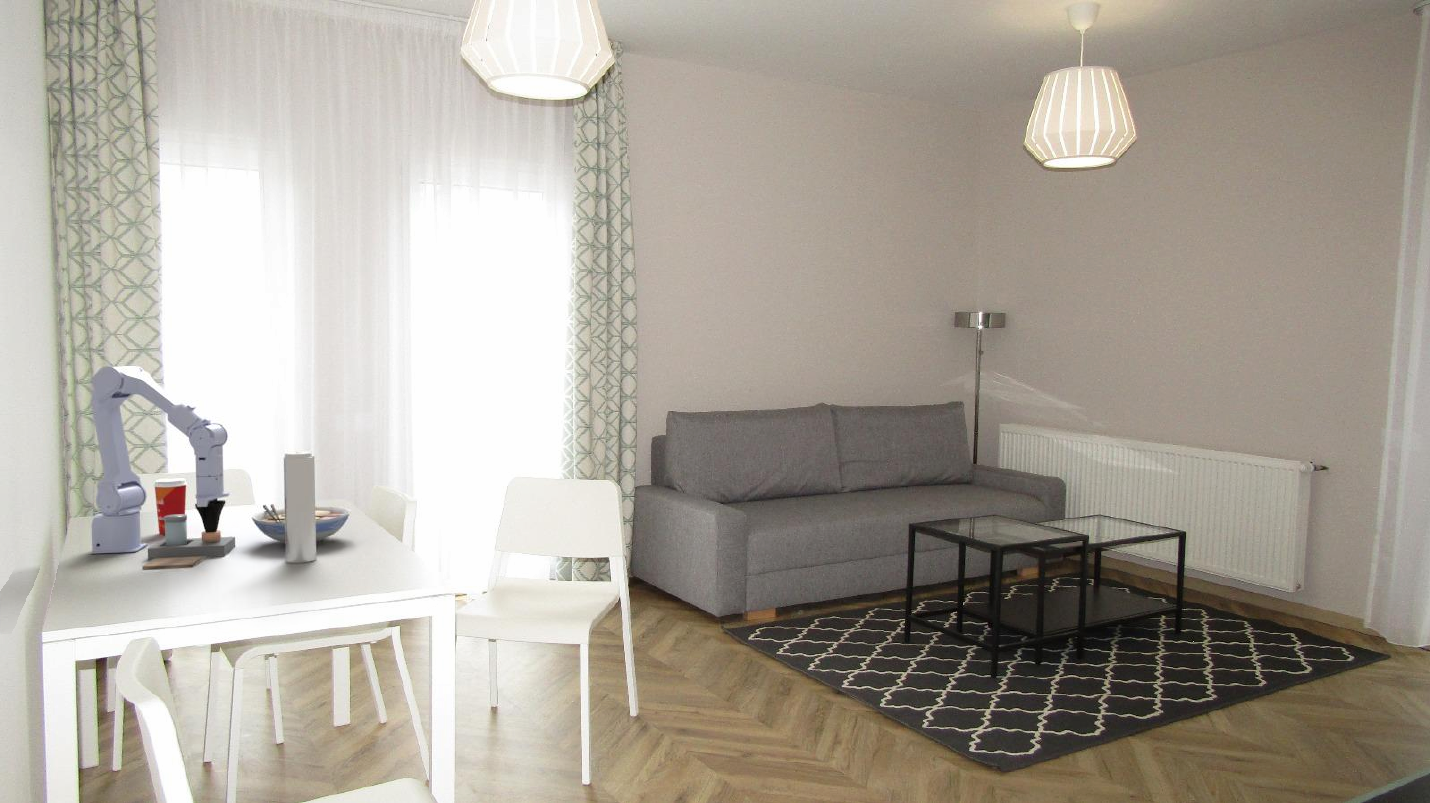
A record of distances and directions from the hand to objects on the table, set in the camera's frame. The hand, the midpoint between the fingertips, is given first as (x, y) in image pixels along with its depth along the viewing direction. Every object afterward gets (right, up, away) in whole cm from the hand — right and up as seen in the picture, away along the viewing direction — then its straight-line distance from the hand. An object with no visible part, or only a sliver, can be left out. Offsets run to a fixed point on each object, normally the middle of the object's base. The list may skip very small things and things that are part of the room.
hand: (211, 531), depth 221 cm
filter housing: (-4, -5, -1) cm, 6 cm away
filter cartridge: (-7, -5, -1) cm, 9 cm away
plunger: (0, -2, 0) cm, 2 cm away
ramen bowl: (+17, -5, +12) cm, 21 cm away
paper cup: (-22, -4, +22) cm, 31 cm away
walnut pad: (-2, -6, -12) cm, 13 cm away
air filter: (+24, -6, -7) cm, 26 cm away
